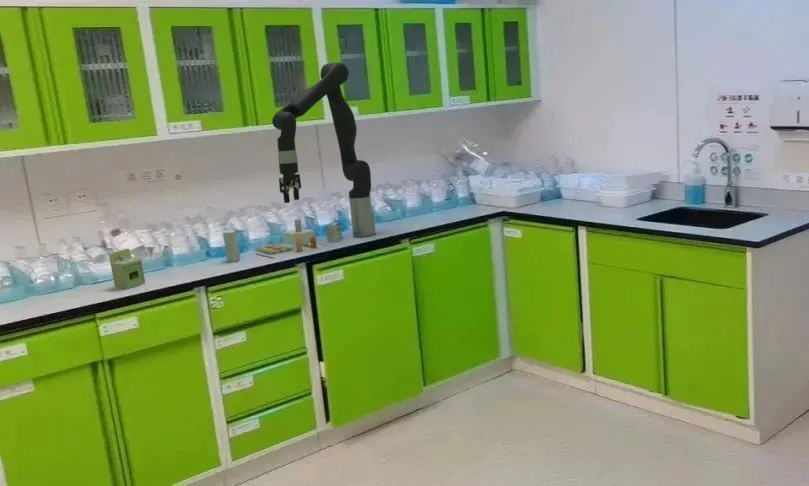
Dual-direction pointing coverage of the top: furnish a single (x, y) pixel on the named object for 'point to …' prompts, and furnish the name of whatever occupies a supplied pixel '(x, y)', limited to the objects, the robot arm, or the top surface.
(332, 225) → the medicine box
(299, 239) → the peg
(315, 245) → the board
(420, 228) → the top surface
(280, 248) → the build board
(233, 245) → the skincare box
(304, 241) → the cover
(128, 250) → the toy sink
